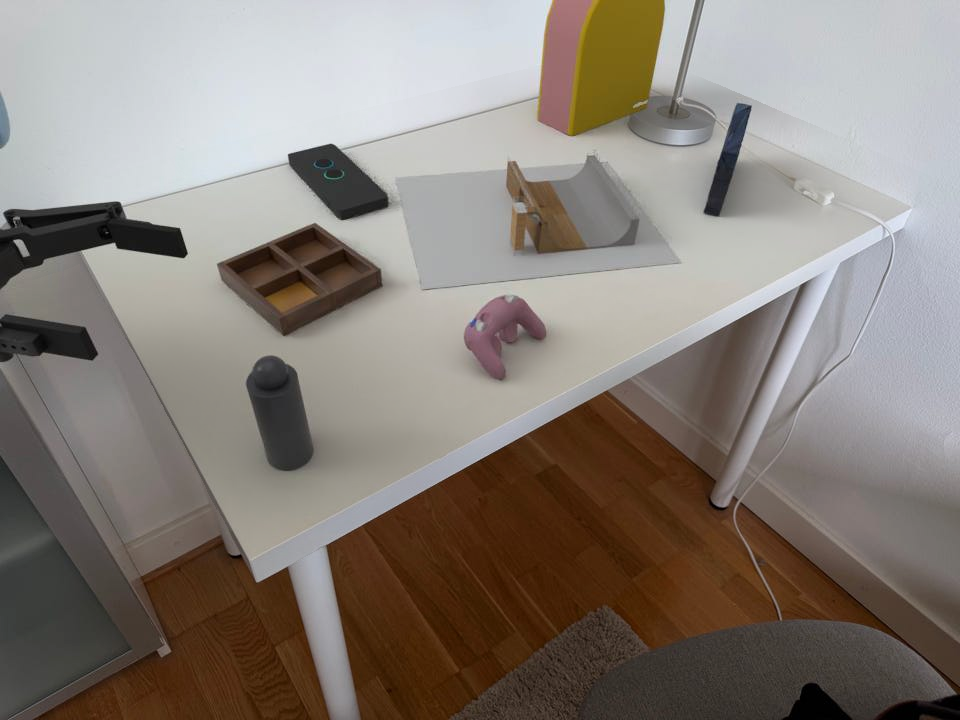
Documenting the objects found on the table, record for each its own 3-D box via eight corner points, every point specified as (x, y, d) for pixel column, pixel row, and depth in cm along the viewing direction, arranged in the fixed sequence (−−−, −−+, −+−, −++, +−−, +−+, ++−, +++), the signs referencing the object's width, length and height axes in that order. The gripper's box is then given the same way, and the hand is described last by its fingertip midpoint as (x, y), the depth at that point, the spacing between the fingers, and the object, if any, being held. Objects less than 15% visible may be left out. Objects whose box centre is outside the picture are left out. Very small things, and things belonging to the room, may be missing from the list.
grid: (283, 336, 79) (279, 318, 77) (221, 280, 87) (216, 263, 85) (382, 286, 87) (381, 269, 85) (317, 238, 94) (315, 222, 92)
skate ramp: (681, 262, 92) (694, 213, 87) (422, 289, 86) (420, 238, 81) (607, 161, 113) (614, 116, 108) (395, 177, 107) (392, 131, 102)
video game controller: (521, 334, 83) (502, 283, 80) (551, 335, 80) (533, 281, 77) (472, 380, 77) (450, 326, 74) (504, 383, 74) (481, 327, 71)
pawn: (283, 478, 64) (257, 385, 56) (258, 451, 67) (230, 358, 58) (322, 453, 67) (303, 361, 58) (297, 428, 69) (275, 336, 61)
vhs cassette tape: (719, 217, 101) (738, 154, 94) (699, 213, 102) (716, 150, 95) (737, 164, 113) (755, 105, 107) (719, 161, 114) (735, 101, 107)
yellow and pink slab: (612, 91, 135) (637, -63, 117) (648, 107, 130) (680, -53, 112) (535, 118, 124) (548, -46, 106) (571, 136, 119) (591, -34, 101)
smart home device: (333, 141, 112) (390, 195, 100) (334, 151, 113) (391, 205, 101) (284, 153, 108) (337, 210, 96) (286, 163, 110) (339, 221, 97)
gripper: (26, 216, 70) (221, 244, 67) (-195, 387, 52) (60, 434, 49) (-8, 146, 65) (202, 173, 62) (-266, 310, 47) (14, 358, 44)
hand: (140, 289), depth 56 cm, fingers open, 13 cm apart
